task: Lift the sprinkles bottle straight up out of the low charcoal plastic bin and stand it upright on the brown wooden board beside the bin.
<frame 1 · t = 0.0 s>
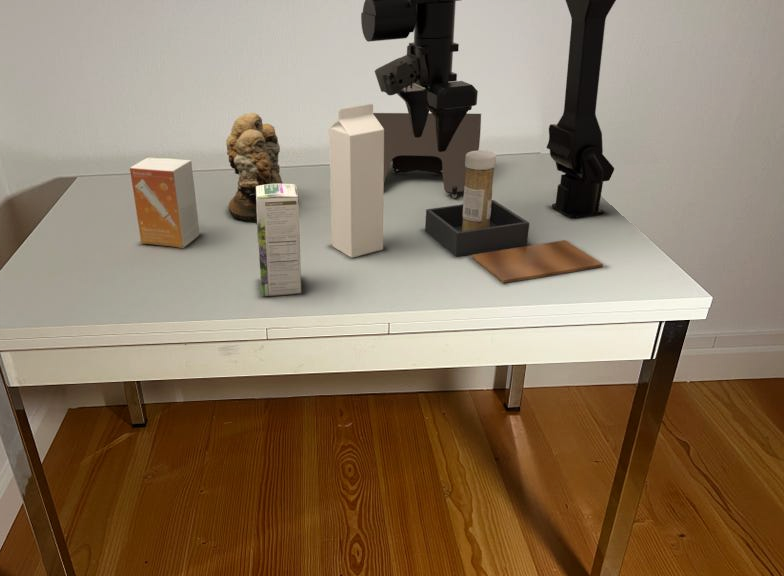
hand: (429, 144, 117), 15 cm above the table, tool pointing down, fingers open, 9 cm apart
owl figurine: (261, 208, 140), on the table
sprinkles bottle: (474, 237, 122), resting on bin
milk: (357, 249, 121), on the table
bin: (474, 238, 122), on the table
small box: (171, 240, 127), on the table
laptop tray: (416, 182, 149), on the table
syrup box: (281, 288, 109), on the table
brown wooden board: (535, 262, 113), on the table
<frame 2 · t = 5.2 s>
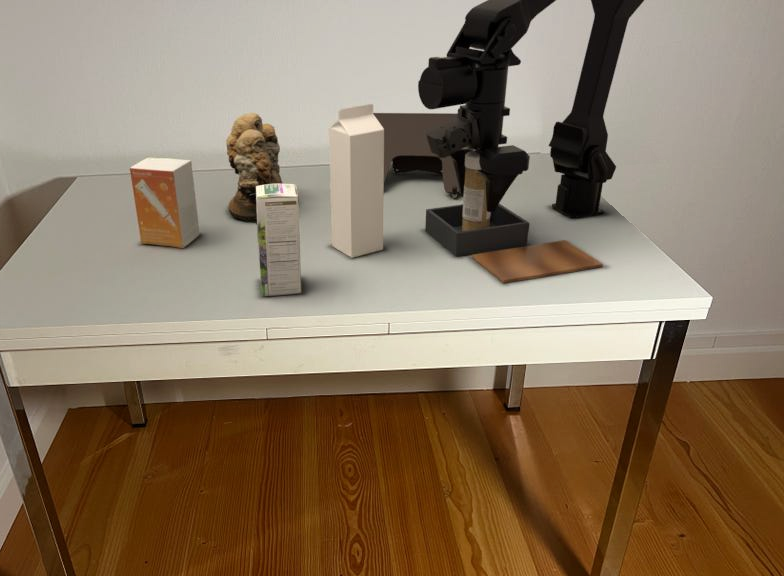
hand: (476, 202, 119), 6 cm above the table, tool pointing down
sprinkles bottle: (474, 237, 122), resting on bin, touching gripper
everything else where it was.
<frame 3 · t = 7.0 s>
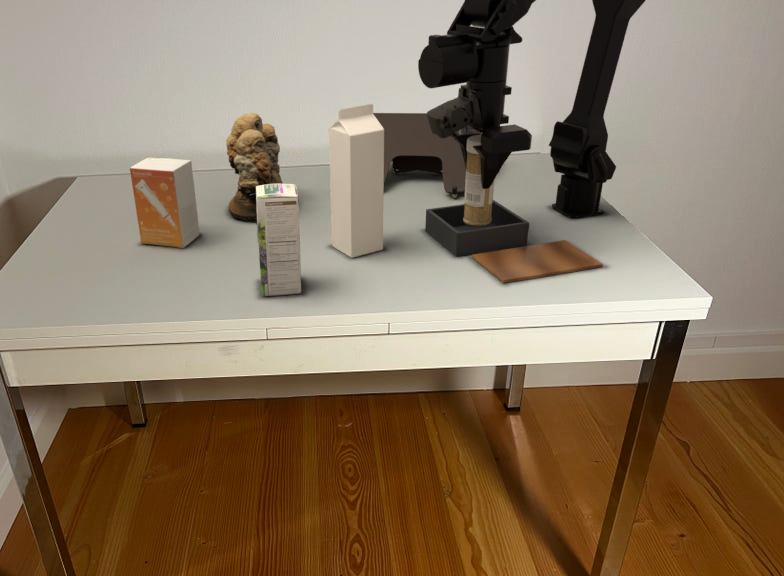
hand: (478, 184, 118), 9 cm above the table, tool pointing down, fingers closed on sprinkles bottle, 4 cm apart
sprinkles bottle: (476, 223, 121), point 2 cm above the table, touching gripper
everything else where it was.
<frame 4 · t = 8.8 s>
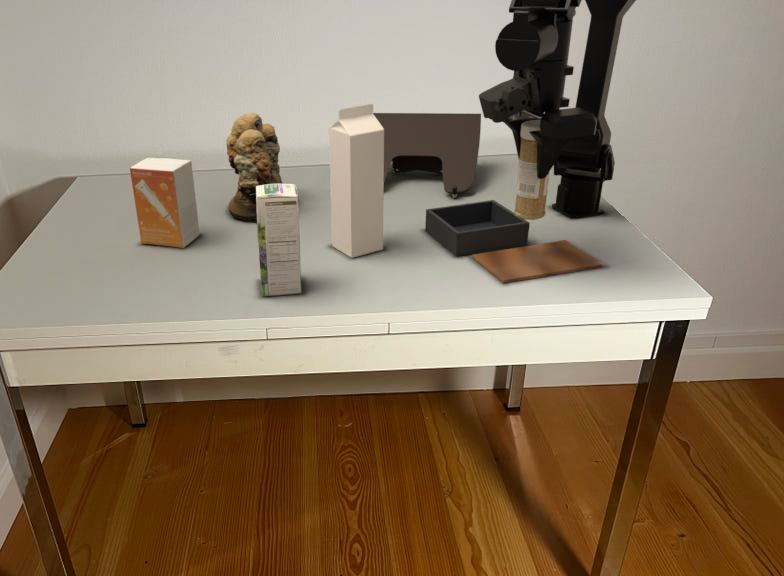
hand: (532, 173, 108), 13 cm above the table, tool pointing down, fingers closed on sprinkles bottle, 4 cm apart
sprinkles bottle: (528, 216, 111), point 6 cm above the table, touching gripper
everything else where it was.
when the fingers open (7 cm above the table, at t = 11.0 s): sprinkles bottle stays where it is, resting on brown wooden board.
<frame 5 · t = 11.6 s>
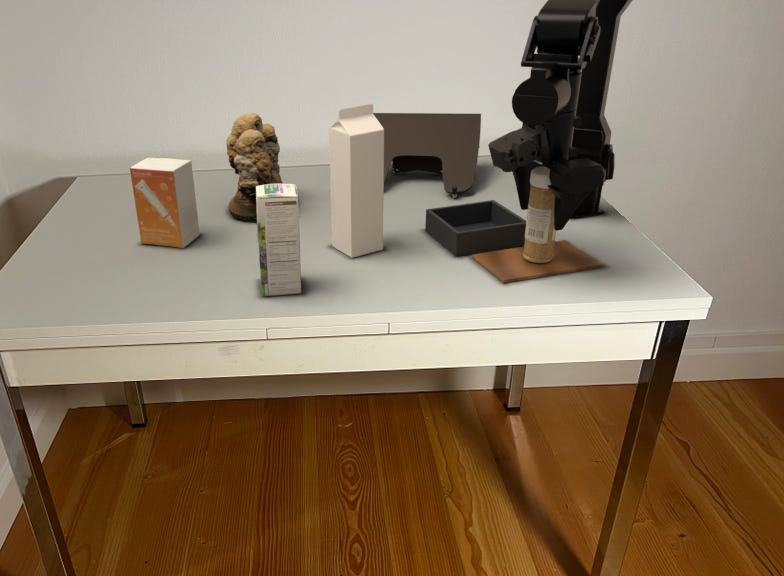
hand: (540, 219, 110), 7 cm above the table, tool pointing down, fingers open, 9 cm apart
sprinkles bottle: (537, 259, 113), resting on brown wooden board
everything else where it was.
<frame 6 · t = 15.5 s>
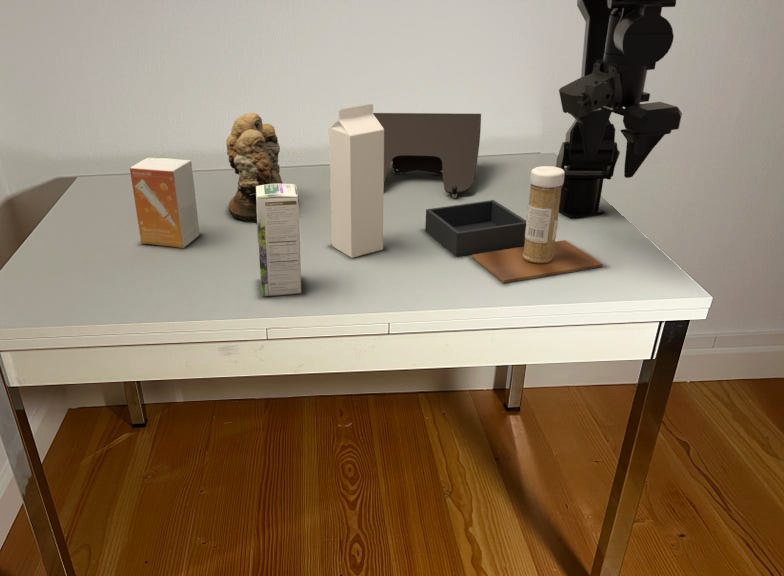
hand: (608, 168, 108), 13 cm above the table, tool pointing down, fingers open, 9 cm apart
nothing on the table moved.
at the end: sprinkles bottle inside the target area on the brown wooden board (0.3 cm from its centre), point 0.3 cm above the brown wooden board's base; sprinkles bottle tilted 0°; the gripper is holding nothing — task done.
